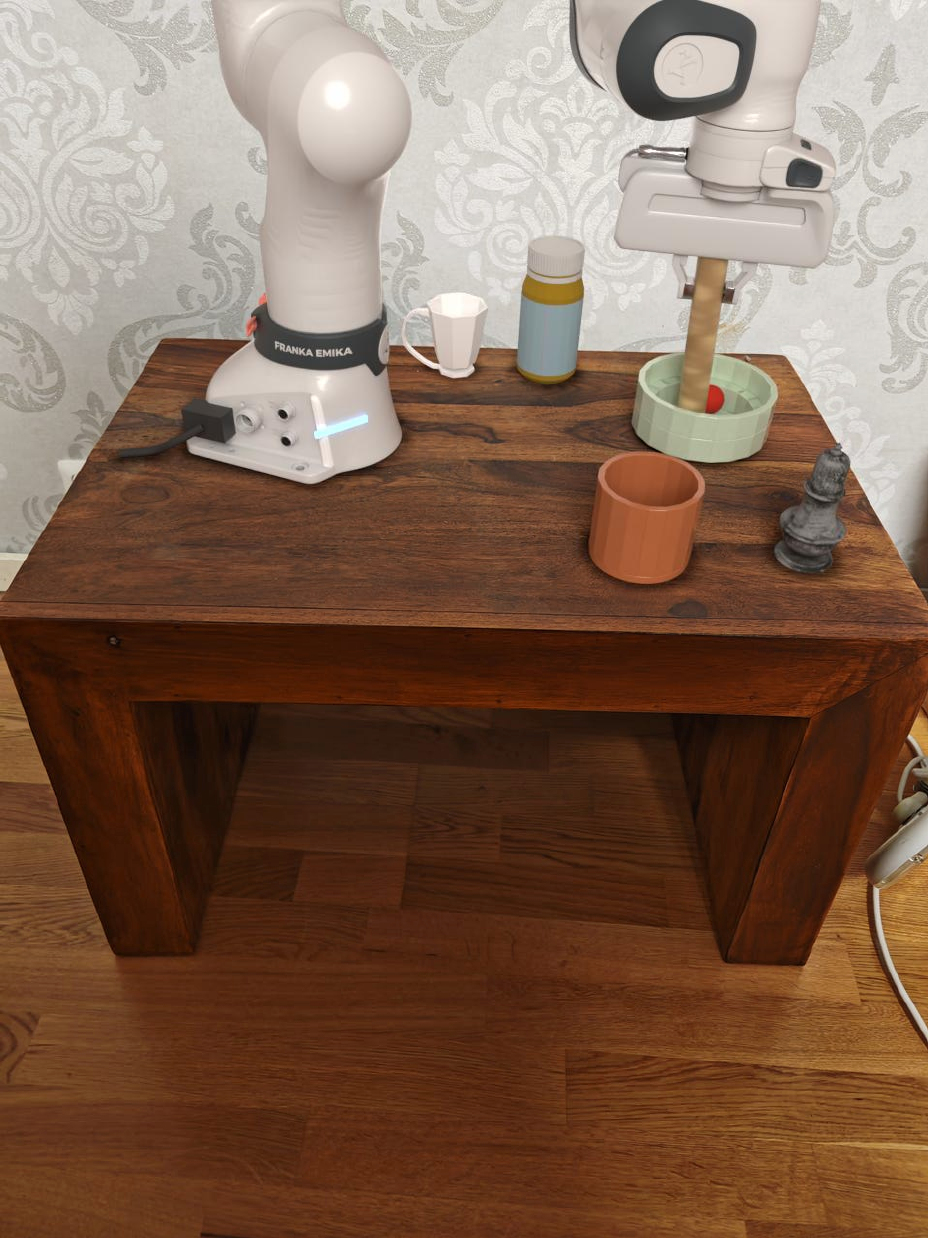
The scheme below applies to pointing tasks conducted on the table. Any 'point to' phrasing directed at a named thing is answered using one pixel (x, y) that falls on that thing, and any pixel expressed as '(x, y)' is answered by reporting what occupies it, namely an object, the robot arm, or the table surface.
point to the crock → (645, 516)
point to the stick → (702, 333)
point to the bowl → (702, 434)
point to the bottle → (551, 309)
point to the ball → (714, 399)
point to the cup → (453, 332)
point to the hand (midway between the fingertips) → (706, 299)
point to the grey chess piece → (815, 516)
